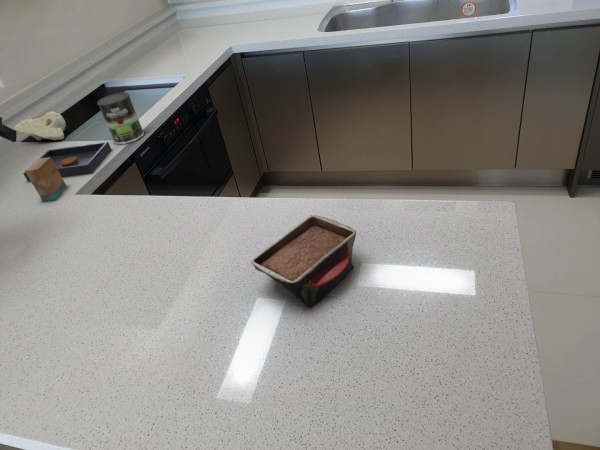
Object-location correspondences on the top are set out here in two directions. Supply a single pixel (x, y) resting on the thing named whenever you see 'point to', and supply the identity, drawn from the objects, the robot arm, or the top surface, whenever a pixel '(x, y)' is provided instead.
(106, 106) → the coffee can
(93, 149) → the pan
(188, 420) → the top surface
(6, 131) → the robot arm
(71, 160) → the grease smear
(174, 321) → the top surface
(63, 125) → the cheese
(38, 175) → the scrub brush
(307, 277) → the baking dish
